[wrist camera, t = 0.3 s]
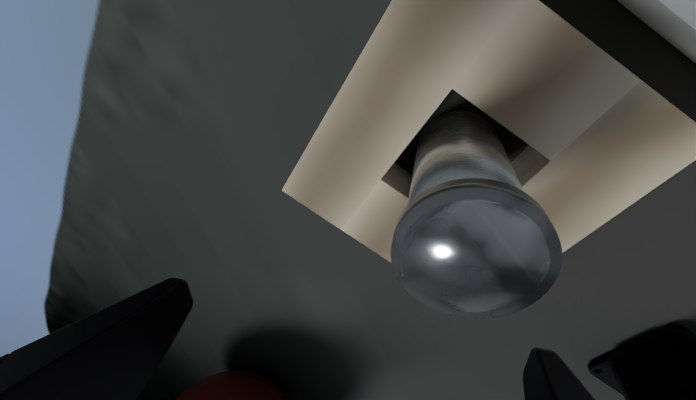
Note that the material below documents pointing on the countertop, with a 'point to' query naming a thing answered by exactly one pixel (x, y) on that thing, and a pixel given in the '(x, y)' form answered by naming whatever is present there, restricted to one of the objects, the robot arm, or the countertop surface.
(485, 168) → the metal pin
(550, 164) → the socket block
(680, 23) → the tray
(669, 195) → the countertop surface
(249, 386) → the round-bottom flask
